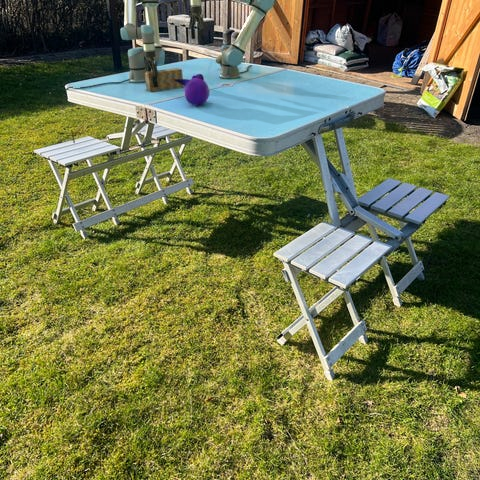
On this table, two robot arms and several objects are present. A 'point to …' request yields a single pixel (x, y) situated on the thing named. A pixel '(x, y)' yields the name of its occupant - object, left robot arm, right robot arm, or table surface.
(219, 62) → the teapot
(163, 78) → the box
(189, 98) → the toy
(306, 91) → the table surface
